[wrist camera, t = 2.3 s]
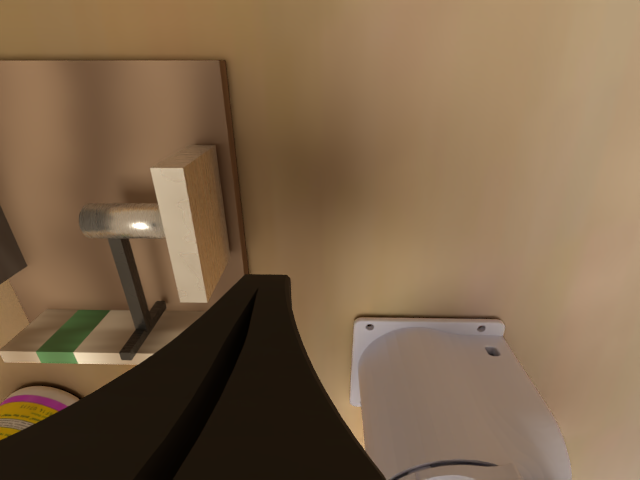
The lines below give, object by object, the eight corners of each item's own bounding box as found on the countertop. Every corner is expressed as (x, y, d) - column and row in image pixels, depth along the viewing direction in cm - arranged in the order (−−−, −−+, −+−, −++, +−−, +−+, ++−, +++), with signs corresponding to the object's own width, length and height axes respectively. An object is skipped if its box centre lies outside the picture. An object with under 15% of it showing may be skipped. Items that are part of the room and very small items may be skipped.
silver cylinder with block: (215, 144, 16) (183, 168, 12) (237, 308, 20) (218, 361, 17) (99, 144, 16) (33, 167, 13) (145, 307, 21) (106, 359, 17)
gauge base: (225, 60, 16) (157, 57, 10) (253, 319, 23) (225, 416, 16) (-74, 60, 16) (-330, 58, 10) (42, 316, 23) (-65, 410, 17)
